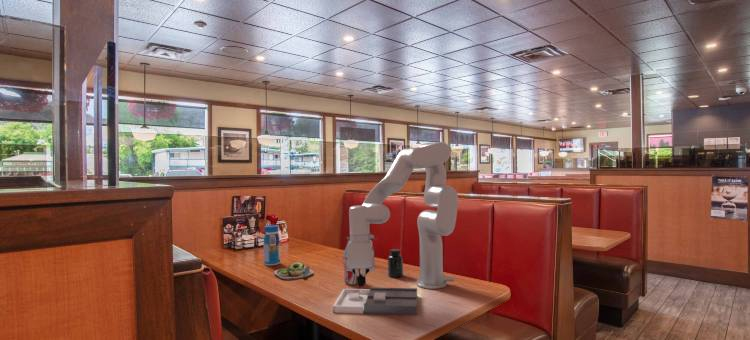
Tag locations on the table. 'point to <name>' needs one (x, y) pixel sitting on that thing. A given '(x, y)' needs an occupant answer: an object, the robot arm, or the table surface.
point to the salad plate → (294, 271)
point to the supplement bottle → (395, 264)
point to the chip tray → (350, 302)
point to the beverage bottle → (271, 245)
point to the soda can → (349, 274)
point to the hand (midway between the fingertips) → (361, 285)
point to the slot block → (393, 301)
